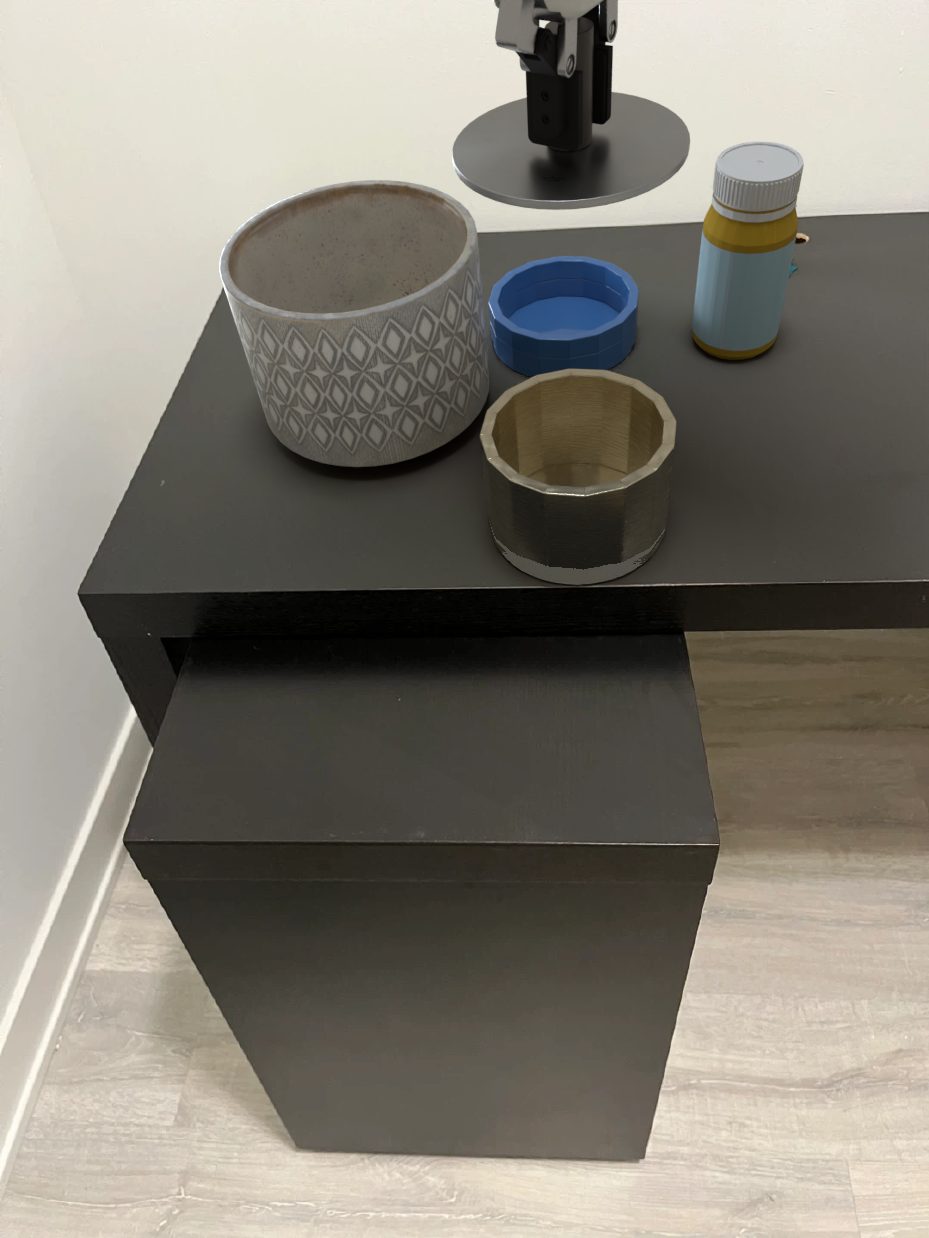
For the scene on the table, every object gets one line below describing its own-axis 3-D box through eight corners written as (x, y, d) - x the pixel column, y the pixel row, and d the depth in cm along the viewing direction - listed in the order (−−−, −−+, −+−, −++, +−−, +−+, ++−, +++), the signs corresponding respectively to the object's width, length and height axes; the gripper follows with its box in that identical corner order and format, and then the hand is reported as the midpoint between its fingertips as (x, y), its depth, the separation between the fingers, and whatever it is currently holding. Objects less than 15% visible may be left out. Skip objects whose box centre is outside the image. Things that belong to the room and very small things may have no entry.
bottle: (682, 356, 79) (700, 179, 68) (701, 309, 83) (722, 135, 71) (766, 369, 77) (800, 189, 65) (783, 321, 81) (817, 143, 69)
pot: (695, 495, 69) (708, 400, 62) (613, 611, 63) (618, 521, 56) (546, 442, 74) (543, 350, 67) (456, 545, 68) (443, 455, 61)
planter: (317, 330, 87) (279, 174, 75) (514, 348, 82) (505, 185, 71) (233, 466, 76) (173, 307, 64) (455, 495, 71) (433, 330, 60)
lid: (726, 129, 56) (742, -7, 50) (622, 242, 49) (628, 98, 44) (527, 95, 61) (522, -32, 56) (408, 192, 55) (390, 59, 49)
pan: (660, 317, 83) (663, 276, 80) (592, 397, 77) (592, 355, 74) (538, 284, 88) (537, 243, 85) (465, 356, 82) (461, 316, 79)
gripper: (552, -275, 34) (558, 212, 49) (729, -354, 42) (690, 84, 57) (385, -274, 37) (437, 185, 52) (580, -348, 45) (578, 67, 60)
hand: (569, 129), depth 54 cm, fingers closed on lid, 2 cm apart
